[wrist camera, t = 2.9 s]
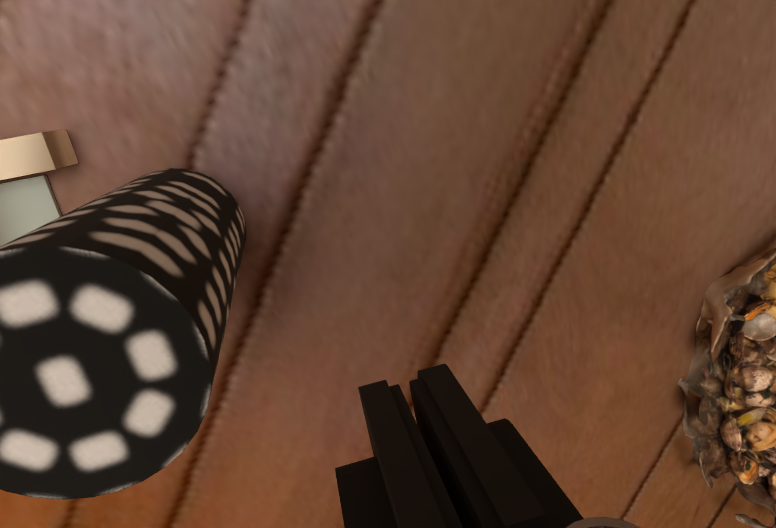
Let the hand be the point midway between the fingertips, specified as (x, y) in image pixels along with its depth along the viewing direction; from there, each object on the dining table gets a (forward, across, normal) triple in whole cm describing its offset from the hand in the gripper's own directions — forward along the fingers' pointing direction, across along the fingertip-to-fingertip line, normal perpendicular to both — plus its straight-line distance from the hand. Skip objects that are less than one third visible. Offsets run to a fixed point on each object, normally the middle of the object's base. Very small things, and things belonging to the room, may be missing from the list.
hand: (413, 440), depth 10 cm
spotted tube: (+27, +9, 0) cm, 29 cm away
